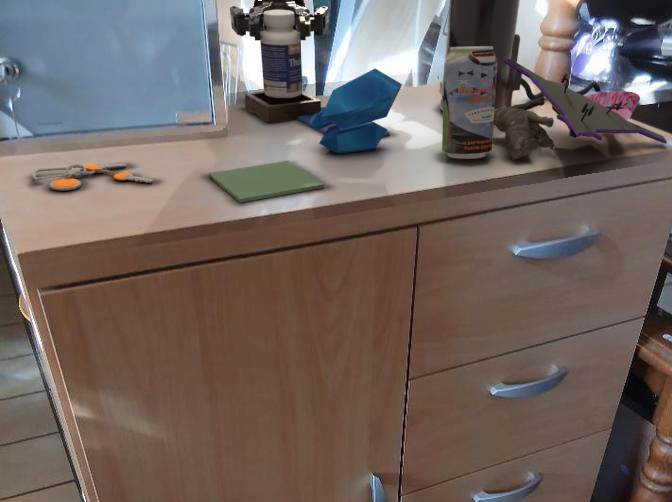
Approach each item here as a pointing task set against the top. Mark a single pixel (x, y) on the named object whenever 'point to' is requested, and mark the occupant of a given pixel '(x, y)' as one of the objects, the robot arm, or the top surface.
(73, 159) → the top surface
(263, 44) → the pill bottle
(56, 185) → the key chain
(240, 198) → the mat
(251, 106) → the holder
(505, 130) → the dog figurine
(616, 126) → the toy airplane
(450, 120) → the beverage can
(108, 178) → the top surface
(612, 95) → the headband
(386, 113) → the blue faceted sculpture
